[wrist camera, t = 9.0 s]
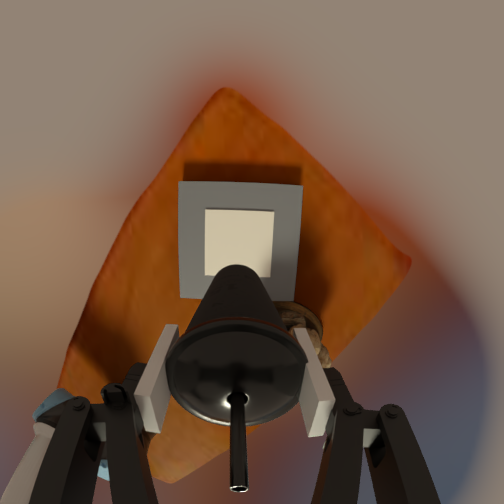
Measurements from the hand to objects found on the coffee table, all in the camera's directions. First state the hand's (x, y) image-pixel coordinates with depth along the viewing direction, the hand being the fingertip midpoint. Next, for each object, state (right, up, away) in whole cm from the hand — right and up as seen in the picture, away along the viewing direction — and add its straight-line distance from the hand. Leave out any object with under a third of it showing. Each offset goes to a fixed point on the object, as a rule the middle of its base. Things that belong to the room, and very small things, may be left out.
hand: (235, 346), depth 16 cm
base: (-1, +8, +31) cm, 32 cm away
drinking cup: (0, +2, +10) cm, 10 cm away
